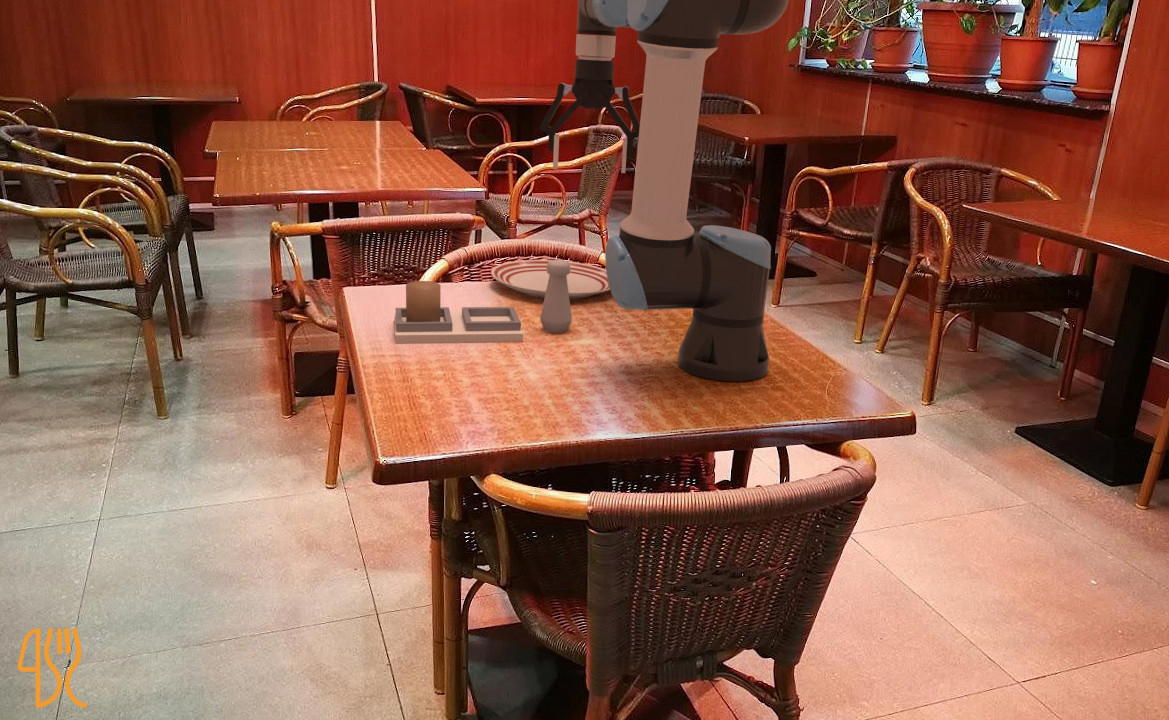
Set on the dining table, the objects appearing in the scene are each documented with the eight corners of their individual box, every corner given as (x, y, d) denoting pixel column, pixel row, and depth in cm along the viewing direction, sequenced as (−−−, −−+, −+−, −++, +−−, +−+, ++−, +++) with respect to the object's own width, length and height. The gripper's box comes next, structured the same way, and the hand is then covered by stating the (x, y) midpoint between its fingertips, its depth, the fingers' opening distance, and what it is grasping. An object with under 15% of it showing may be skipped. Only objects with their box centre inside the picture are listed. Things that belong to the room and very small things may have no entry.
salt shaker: (535, 326, 175) (537, 257, 171) (563, 323, 178) (566, 256, 173) (547, 336, 171) (550, 265, 166) (576, 333, 173) (579, 263, 169)
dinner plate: (595, 270, 218) (596, 256, 217) (638, 304, 194) (639, 288, 193) (478, 274, 210) (478, 259, 209) (508, 309, 185) (508, 293, 184)
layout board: (522, 341, 167) (524, 295, 164) (395, 343, 162) (394, 295, 159) (513, 319, 179) (514, 275, 176) (394, 320, 174) (393, 275, 171)
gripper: (659, 61, 185) (651, 171, 192) (532, 54, 186) (529, 164, 193) (660, 62, 178) (651, 176, 185) (528, 55, 179) (524, 169, 186)
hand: (589, 170), depth 189 cm, fingers open, 13 cm apart
